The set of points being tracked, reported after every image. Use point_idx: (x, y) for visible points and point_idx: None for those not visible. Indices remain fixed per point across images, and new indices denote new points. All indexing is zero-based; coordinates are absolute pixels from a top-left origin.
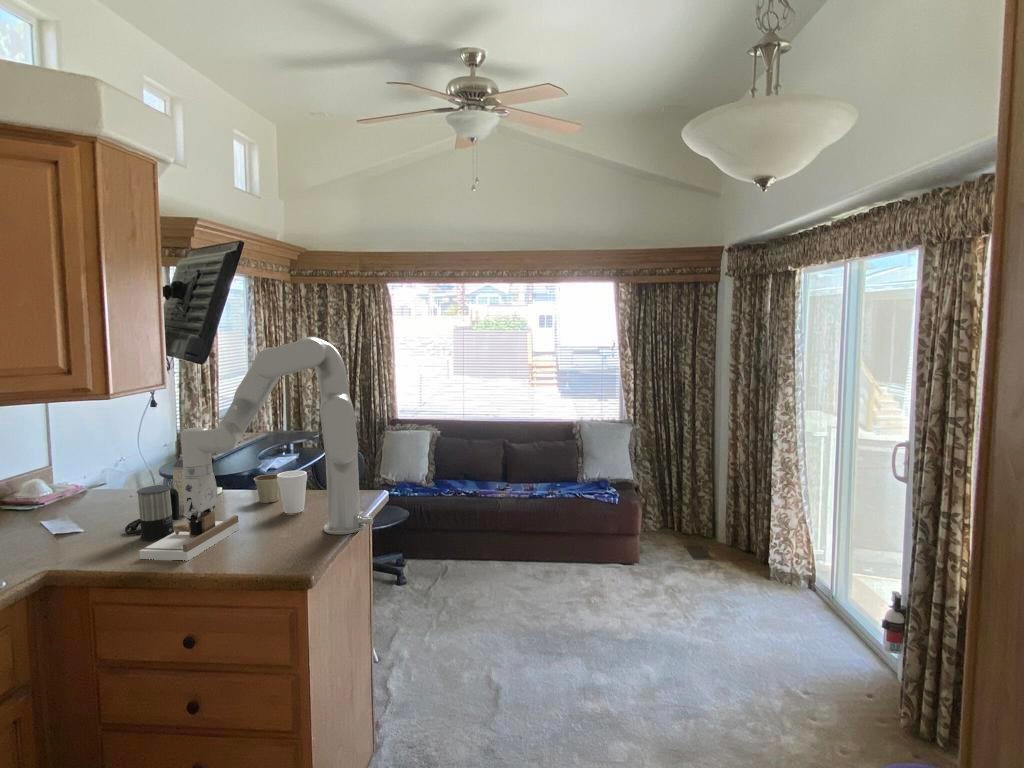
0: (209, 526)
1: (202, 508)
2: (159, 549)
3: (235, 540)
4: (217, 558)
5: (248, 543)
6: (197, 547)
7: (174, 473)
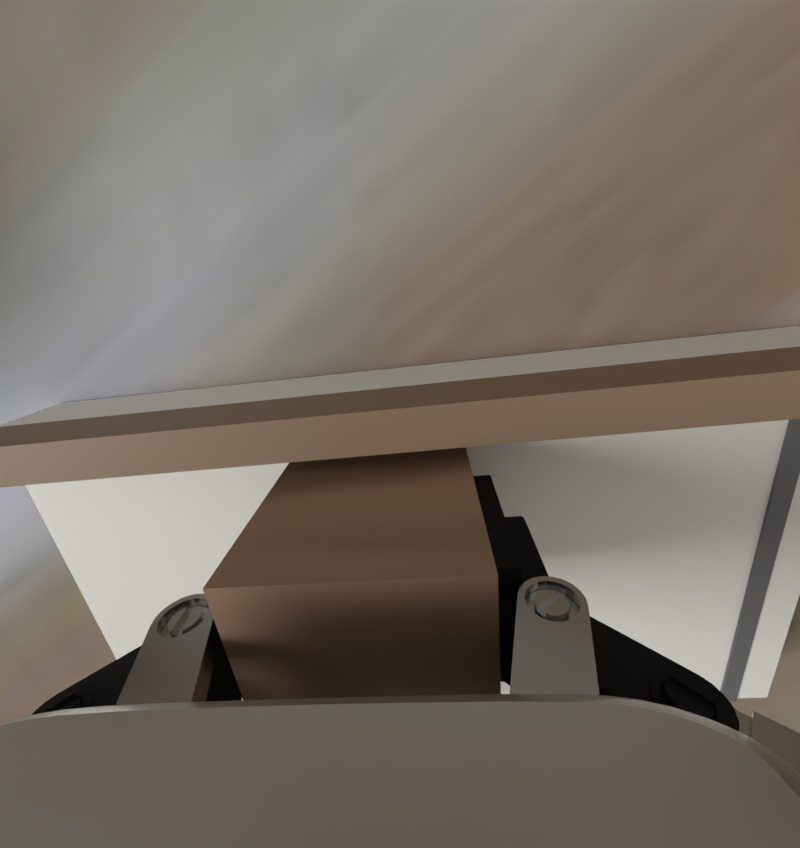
0: (384, 479)
1: (666, 786)
2: (763, 600)
3: (276, 249)
4: (762, 66)
5: (310, 28)
6: (690, 352)
7: None
